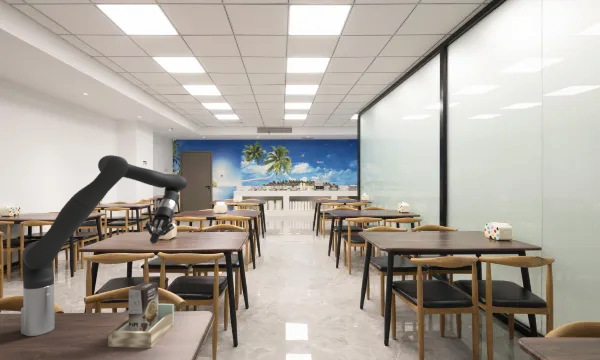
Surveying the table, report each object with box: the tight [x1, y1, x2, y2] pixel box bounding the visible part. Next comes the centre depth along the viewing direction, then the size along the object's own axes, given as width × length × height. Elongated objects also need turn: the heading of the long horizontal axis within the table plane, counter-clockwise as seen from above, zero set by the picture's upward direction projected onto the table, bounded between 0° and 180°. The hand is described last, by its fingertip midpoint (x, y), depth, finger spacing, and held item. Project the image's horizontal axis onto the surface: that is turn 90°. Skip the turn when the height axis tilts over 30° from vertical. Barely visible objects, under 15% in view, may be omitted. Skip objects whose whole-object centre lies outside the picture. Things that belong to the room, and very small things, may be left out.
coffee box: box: [128, 281, 159, 332], centre depth 127 cm, size 9×6×16 cm
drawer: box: [117, 303, 175, 332], centre depth 127 cm, size 15×16×7 cm
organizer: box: [107, 313, 174, 349], centre depth 125 cm, size 15×17×5 cm
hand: (152, 242), depth 146 cm, fingers closed
